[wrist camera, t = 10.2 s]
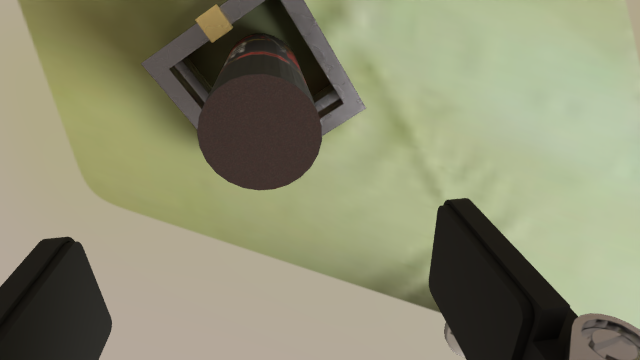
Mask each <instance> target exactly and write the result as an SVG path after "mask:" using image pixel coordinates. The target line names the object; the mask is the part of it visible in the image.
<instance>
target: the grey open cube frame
mask: <svg viewBox="0 0 640 360" xmlns="http://www.w3.org/2000/svg"><path fill="white" fill-rule="evenodd" d="M264 1H265V0H228V1H227V2H225V3H224V4H222V5H221V6H220V7H219V6H218V4H216V5H214V6H213V7H212V8H210V9H209V10H208V11H206V12H205V13H203V14H202V15H201V16H199V17H198V18H197V19H195V20H196V22H197V23H196V24H195V25H193V26H192V27H191V28H189V29H188V30H187V31H185V32H184V33H182V34H181V35H180V36H178V37H177V38H176V39H174V40H173V41H171V42H170V43H169V44H167V45H166V46H165V47H163V48H162V49H160V50H159V51H158V52H156V53H155V54H153V55H152V56H151V57H149V58H148V59H147V60H145V61H144V62H142V63H141V64H142V65H143V67H144V68H145V69H146V70H147V71H148V72H149V74H150V75H151V76H152V77H153V78H154V79H155V81H156V82H157V83H158V84H159V85H160V87H161V88H162V89H163V90H164V91H165V92H166V94H167V95H168V96H169V97H170V98H171V99H172V101H173V102H174V103H175V104H176V105H177V106H178V108H179V109H180V110H181V111H182V112H183V113H184V115H185V116H186V117H187V118H188V119H189V120H190V122H191V123H192V124H193V125H194V126H195V128H196V129H198V120H199V115H200V113H201V111H202V108H203V106H204V104H205V101H206V99H207V97H208V95H209V93H210V91H211V89H212V87H211V86H210V85H209V83H208V82H207V81H206V80H205V78H204V77H203V76H202V74H201V73H200V72H199V71H198V69H197V68H196V67H195V66H194V64H193V63H192V62H191V60H190V59H189V58H188V57H187V56H188V55H189V54H191V53H192V52H193V51H195V50H196V49H198V48H199V47H200V46H202V45H203V44H205V43H206V42H207V41H209V40H210V41H211V42H212V43H213V42H214V41H216V40H217V39H218V38H220V37H221V36H223V35H224V34H225V33H227V32H228V31H230V30H231V29H232V28H233V26H232V25H231V24H233V23H234V22H235V21H237V20H238V19H240V18H241V17H243V16H244V15H245V14H247V13H248V12H250V11H251V10H252V9H254V8H255V7H257V6H258V5H259V4H261V3H262V2H264ZM280 1H281V3H282V4H283V6H284V7H285V9H286V11H287V12H288V14H289V16H290V17H291V19H292V21H293V22H294V24H295V26H296V27H297V29H298V31H299V32H300V34H301V35H302V37H303V39H304V40H305V42H306V44H307V45H308V47H309V49H310V50H311V52H312V54H313V55H314V57H315V58H316V60H317V62H318V63H319V65H320V67H321V68H322V70H323V72H324V73H325V75H326V77H327V78H328V80H329V82H330V83H331V84H330V85H329V86H327V87H326V88H324V89H323V90H321V91H320V92H318V93H317V94H315V95H314V96H312V99H313V101H314V104H315V106H316V109H317V111H318V115H319V118H320V122H321V125H322V136H323V135H325V134H326V133H328V132H329V131H331V130H332V129H334V128H336V127H337V126H339V125H340V124H342V123H344V122H345V121H347V120H348V119H350V118H351V117H353V116H355V115H356V114H358V113H359V112H361V111H362V110H364V109H366V107H365V105H364V104H363V102H362V100H361V98H360V97H359V95H358V93H357V91H356V90H355V88H354V86H353V85H352V83H351V81H350V79H349V78H348V76H347V74H346V72H345V71H344V69H343V67H342V66H341V64H340V62H339V60H338V59H337V57H336V55H335V53H334V52H333V50H332V48H331V46H330V45H329V43H328V41H327V40H326V38H325V36H324V34H323V33H322V31H321V29H320V27H319V26H318V24H317V22H316V21H315V19H314V17H313V15H312V14H311V12H310V10H309V8H308V7H307V5H306V3H305V2H304V0H280Z"/></svg>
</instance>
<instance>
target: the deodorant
mask: <svg viewBox="0 0 640 360" xmlns="http://www.w3.org/2000/svg"><path fill="white" fill-rule="evenodd" d="M197 134H198V140H199V146H200V149H201V151H202V153H203V155H204V157H205V159H206V161H207V163H208V164H209V165H210V166H211V167H212V168H213V170H214V171H215V172H216V173H217V174H218V175H220V176H221V177H223V178H224V179H225V180H227V181H228V182H230V183H233V184H235V185H238V186H240V187H242V188H247V189H254V190H269V189H276V188H279V187H282V186H286V185H288V184H290V183H292V182H293V181H295V180H297V179H298V178H300V177H301V176H302V175H303V174H304V173H305V172H306V171H307V170H308V169H309V168H310V167H311V166H312V164H313V162H314V161H315V159H316V157H317V155H318V153H319V149H320V145H321V142H322V125H321V122H320V118H319V115H318V111H317V109H316V106H315V104H314V101H313V99H312V96H311V94H310V91H309V89H308V86H307V84H306V81H305V79H304V77H303V74H302V72H301V69H300V67H299V64H298V62H297V59H296V57H295V55H294V53H293V52H292V50H291V48H290V47H289V46H288V45H287V44H286V43H285V42H284V41H282V40H280V39H278V38H277V37H275V36H271V35H267V34H254V35H251V36H247V37H245V38H243V39H242V40H240V41H239V42H237V44H236V45H235V46H234V47H233V48H232V50H231V52H230V54H229V56H228V57H227V59H226V61H225V63H224V65H223V67H222V69H221V71H220V73H219V75H218V77H217V79H216V81H215V83H214V85H213V87H212V89H211V91H210V93H209V95H208V97H207V99H206V101H205V104H204V106H203V108H202V111H201V113H200V115H199V120H198V129H197Z"/></svg>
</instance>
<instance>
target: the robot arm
mask: <svg viewBox="0 0 640 360" xmlns="http://www.w3.org/2000/svg"><path fill="white" fill-rule="evenodd" d="M429 288H430V292H431V294H432V296H433V298H434V300H435V302H436V304H437V305H438V307H439V309H440V311H441V313H442V315H443V317H444V318H445V320H446V324H445V330H444V334H445V339H446V341H447V343H448V345H449V347H450V348H451V350H452V351H453V352H455V353H456V354H457V355H459V356H461V357H464V358H466V359H467V360H640V330H639V329H638V328H636V327H634V326H633V325H631V324H629V323H627V322H625V321H623V320H620V319H618V318H615V317H612V316H608V315H604V314H593V313H589V314H585V315H581V316H579V317H578V316H577V315H576V314H575V313H574V312H573V310H572V309H571V308H570V305H569V304H568V303H567V302H566V301H565V300H564V299H563V298H562V297H561V296H560V294H559V293H558V292H557V291H556V290H555V289H554V288H553V287H552V286H551V285H550V284H549V283H548V282H547V281H546V280H545V279H544V278H543V277H542V275H541V274H540V273H539V272H538V271H537V270H536V269H535V268H534V267H533V266H532V265H531V264H530V263H529V262H528V261H527V260H526V259H525V257H524V256H523V255H522V254H521V253H520V252H519V251H518V250H517V249H516V248H515V247H514V246H513V245H512V244H511V243H510V242H509V241H508V240H507V238H506V237H505V236H504V235H503V234H502V233H501V232H500V231H499V230H498V229H497V228H496V227H495V226H494V225H493V224H492V223H491V222H490V221H489V219H488V218H487V217H486V216H485V215H484V214H483V213H482V212H481V211H480V210H479V209H478V208H477V207H476V206H475V205H474V204H473V203H472V202H471V200H469V199H468V198H462V199H452V200H446V201H445V203H444V205H443V206H440V207H439V208H438V212H437V220H436V228H435V235H434V243H433V251H432V259H431V267H430V274H429ZM111 327H112V320H111V317H110V314H109V312H108V309H107V307H106V304H105V302H104V299H103V297H102V294H101V291H100V289H99V287H98V284H97V282H96V279H95V276H94V274H93V271H92V269H91V266H90V264H89V262H88V259H87V257H86V254H85V251H84V249H83V247H82V245H81V243H79V242H75V241H74V240H73V239H72V238H70V237H61V238H51V239H44V240H42V241H40V242H39V243H38V244H37V246H36V247H35V248H34V249H33V250H32V251H31V253H30V254H29V255H28V256H27V257H26V258H25V259H24V260H23V262H22V263H21V264H20V265H19V266H18V267H17V268H16V270H15V271H14V272H13V273H12V274H11V275H10V276H9V278H8V279H7V280H6V281H5V282H4V283H3V284H2V286H1V287H0V360H99V357H100V355H101V353H102V350H103V348H104V346H105V344H106V342H107V339H108V337H109V335H110V332H111Z"/></svg>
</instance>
